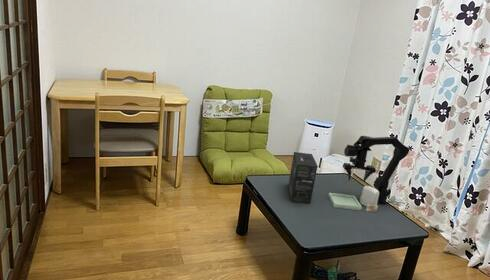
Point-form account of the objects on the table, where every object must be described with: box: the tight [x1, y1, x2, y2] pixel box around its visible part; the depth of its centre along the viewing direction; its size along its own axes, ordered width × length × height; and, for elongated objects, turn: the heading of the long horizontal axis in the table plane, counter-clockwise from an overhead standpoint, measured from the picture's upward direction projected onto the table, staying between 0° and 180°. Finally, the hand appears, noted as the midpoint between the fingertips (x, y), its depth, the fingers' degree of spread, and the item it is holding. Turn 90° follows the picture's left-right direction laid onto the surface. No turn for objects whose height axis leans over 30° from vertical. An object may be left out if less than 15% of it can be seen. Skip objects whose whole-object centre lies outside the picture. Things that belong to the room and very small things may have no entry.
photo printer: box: [359, 185, 379, 207], centre depth 227 cm, size 10×4×12 cm, turn 36°
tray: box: [328, 192, 363, 211], centre depth 227 cm, size 16×16×2 cm
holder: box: [358, 194, 379, 213], centre depth 228 cm, size 6×14×4 cm, turn 0°
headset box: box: [288, 151, 319, 204], centre depth 228 cm, size 22×12×26 cm, turn 179°
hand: (356, 180), depth 231 cm, fingers open, 9 cm apart
